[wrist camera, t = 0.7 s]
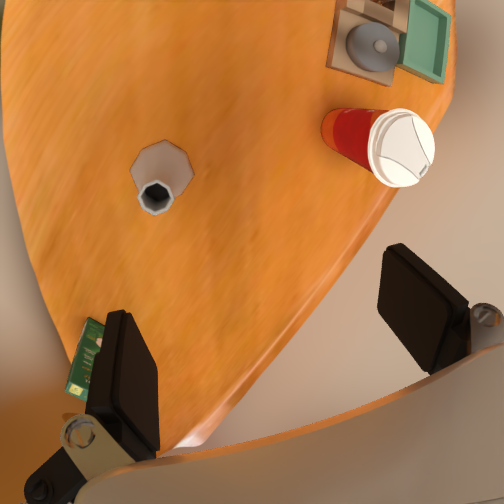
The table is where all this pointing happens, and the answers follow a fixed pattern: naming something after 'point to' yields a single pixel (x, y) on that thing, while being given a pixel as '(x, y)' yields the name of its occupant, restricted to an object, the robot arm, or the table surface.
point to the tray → (425, 41)
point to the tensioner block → (367, 38)
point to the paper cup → (382, 142)
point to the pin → (380, 1)
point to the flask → (160, 176)
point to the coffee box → (84, 359)
